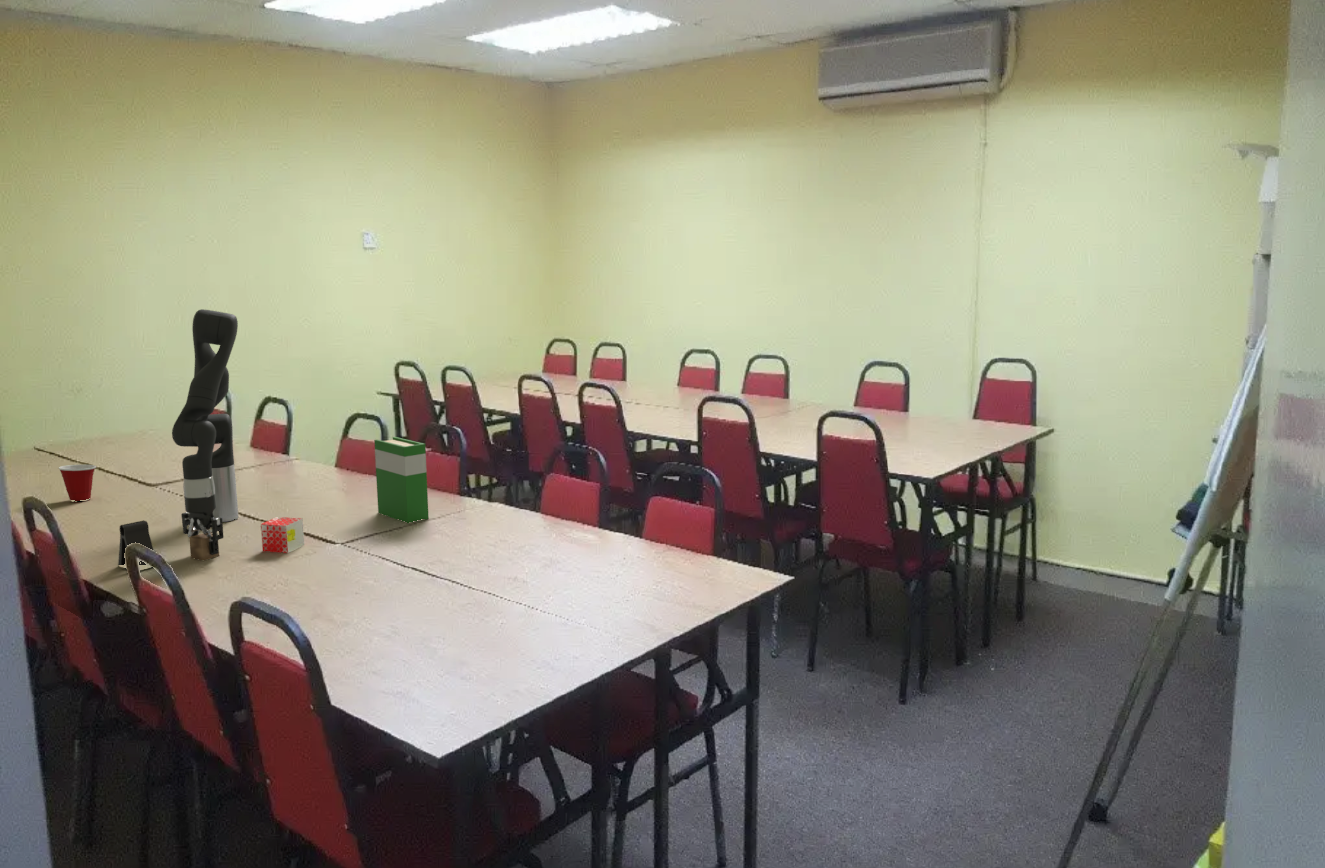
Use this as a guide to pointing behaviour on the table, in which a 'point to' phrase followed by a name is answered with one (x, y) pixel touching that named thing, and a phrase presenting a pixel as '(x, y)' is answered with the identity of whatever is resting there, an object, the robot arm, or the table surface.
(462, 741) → the table surface
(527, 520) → the table surface
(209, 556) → the walnut block
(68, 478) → the plastic cup
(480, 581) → the table surface
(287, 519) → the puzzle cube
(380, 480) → the hardback book
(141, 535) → the black tent stand
